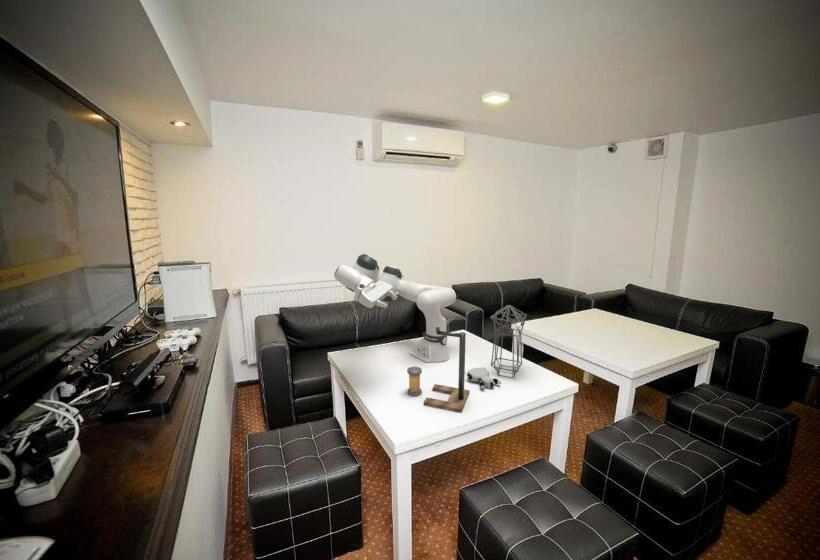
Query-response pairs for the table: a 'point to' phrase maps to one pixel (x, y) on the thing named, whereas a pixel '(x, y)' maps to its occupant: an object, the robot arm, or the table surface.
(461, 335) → the hook stand
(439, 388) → the notched board
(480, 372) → the robot toy
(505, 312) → the geometric lantern
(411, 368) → the cord spool
